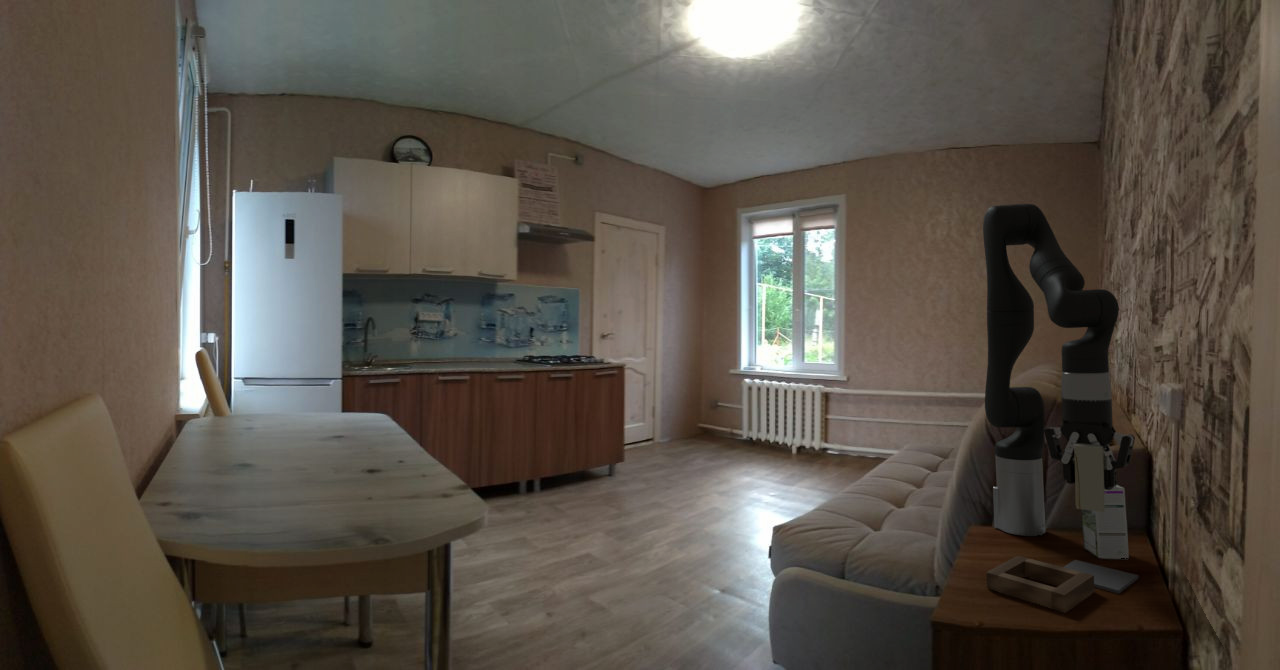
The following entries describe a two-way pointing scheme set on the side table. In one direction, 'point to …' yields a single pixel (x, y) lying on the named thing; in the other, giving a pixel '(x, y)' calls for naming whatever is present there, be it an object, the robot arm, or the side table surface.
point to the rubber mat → (1104, 576)
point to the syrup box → (1107, 527)
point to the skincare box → (1089, 477)
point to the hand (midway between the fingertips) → (1089, 485)
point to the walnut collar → (1060, 598)
